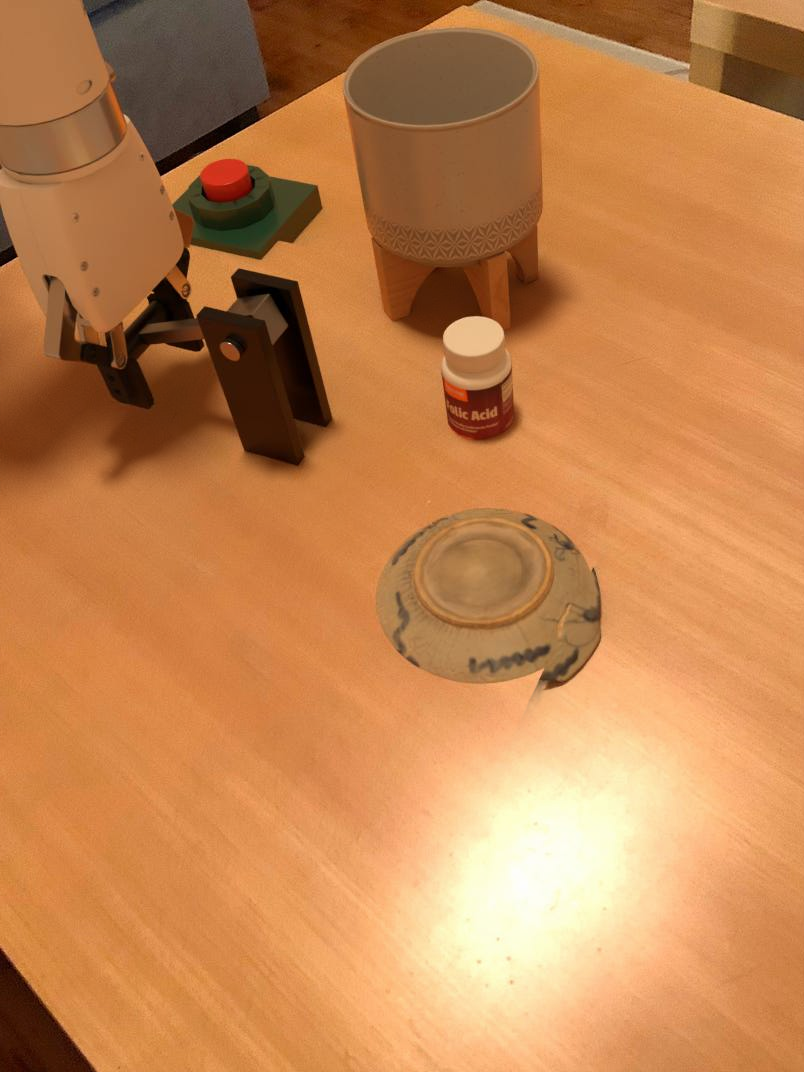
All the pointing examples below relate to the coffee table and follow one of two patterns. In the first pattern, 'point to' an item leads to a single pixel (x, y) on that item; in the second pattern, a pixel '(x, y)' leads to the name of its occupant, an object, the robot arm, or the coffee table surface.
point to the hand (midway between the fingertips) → (159, 371)
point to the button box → (251, 215)
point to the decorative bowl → (490, 599)
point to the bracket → (267, 369)
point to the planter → (448, 160)
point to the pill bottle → (477, 378)
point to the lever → (195, 324)
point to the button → (226, 180)
